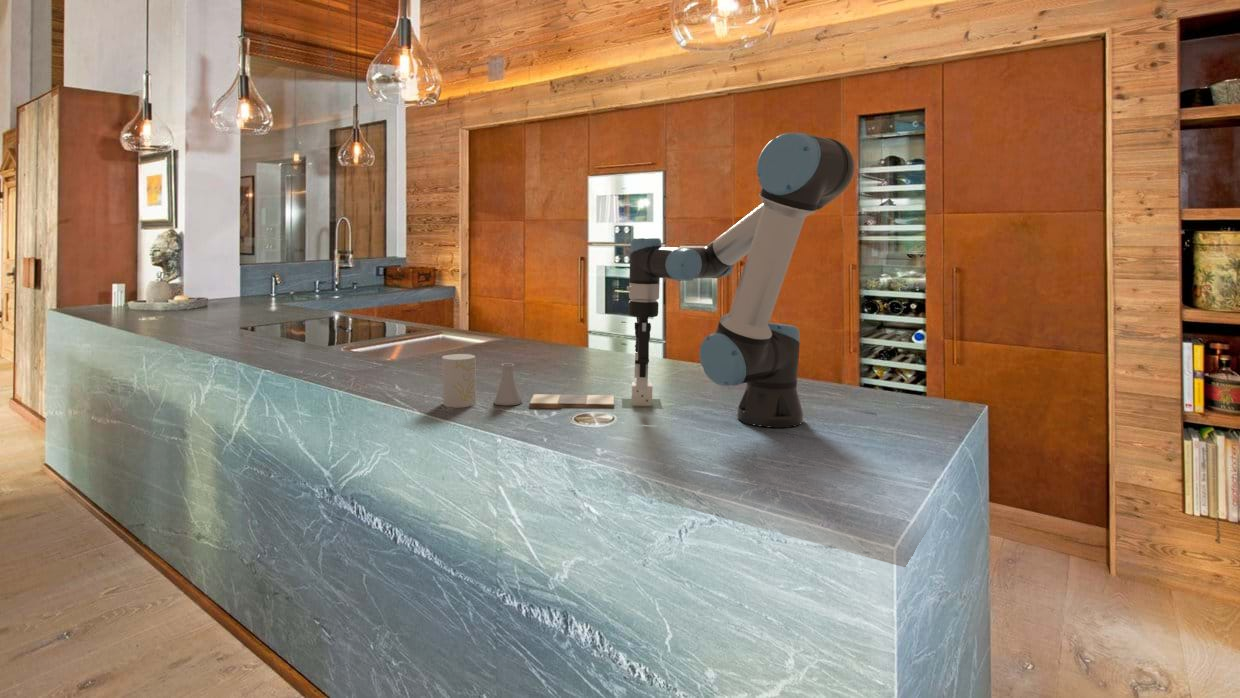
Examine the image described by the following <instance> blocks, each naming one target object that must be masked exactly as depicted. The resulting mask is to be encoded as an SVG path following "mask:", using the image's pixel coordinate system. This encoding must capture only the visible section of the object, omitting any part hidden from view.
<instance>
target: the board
mask: <svg viewBox="0 0 1240 698" xmlns="http://www.w3.org/2000/svg"><path fill="white" fill-rule="evenodd" d="M528 408H529V409H563V408H573V409H574V408H575V409H577V408H586V409H587V408H589V409H590V408H592V409H598V408H601V409H614V408H615V396H614V395H613V394H612V395H611V394H608V395H607V394H549V393H548V394H542V393H541V394H540V393H536V394H535V393H534V394H533V396H532V398H531V399H530V401H529V405H528Z"/></svg>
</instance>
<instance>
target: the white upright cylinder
mask: <svg viewBox="0 0 1240 698" xmlns="http://www.w3.org/2000/svg"><path fill="white" fill-rule="evenodd" d="M476 367H477V366H476V355H474V354H470V353H454V354H447V355H445V354H444V355H442V357H441V370H442V371H441V372H442V373H441V374H442V402H443V403H442V404H443V406H444V407H447V408H456V409H457V408H458V409H459V408H469V407H472V406H475V405H476V404H477V376H476V375H477V373H476V372H477V371H476V369H477V368H476Z"/></svg>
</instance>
